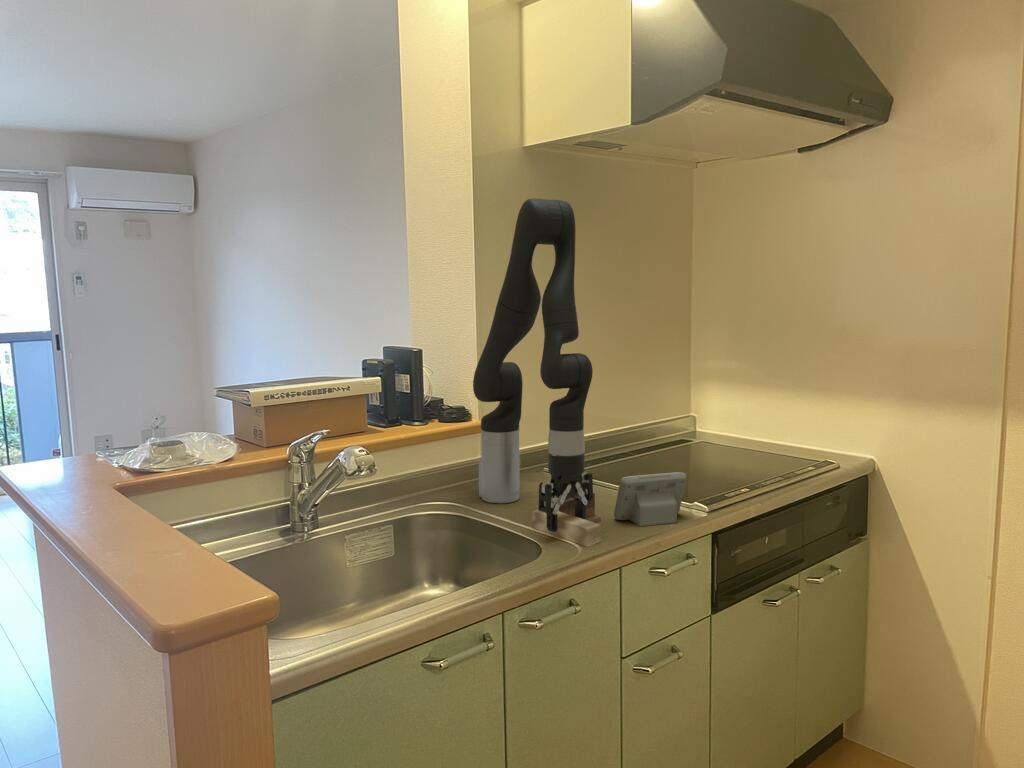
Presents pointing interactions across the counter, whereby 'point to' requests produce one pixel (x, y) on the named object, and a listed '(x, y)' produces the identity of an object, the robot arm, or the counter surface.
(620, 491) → the digital clock
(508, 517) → the counter surface
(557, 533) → the beige long bar
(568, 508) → the walnut ridge
